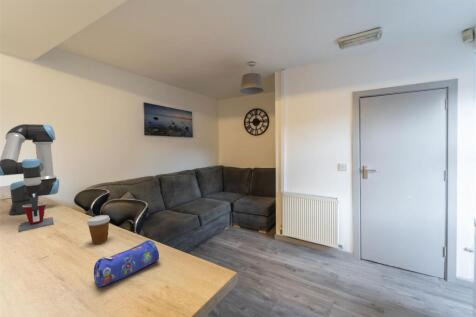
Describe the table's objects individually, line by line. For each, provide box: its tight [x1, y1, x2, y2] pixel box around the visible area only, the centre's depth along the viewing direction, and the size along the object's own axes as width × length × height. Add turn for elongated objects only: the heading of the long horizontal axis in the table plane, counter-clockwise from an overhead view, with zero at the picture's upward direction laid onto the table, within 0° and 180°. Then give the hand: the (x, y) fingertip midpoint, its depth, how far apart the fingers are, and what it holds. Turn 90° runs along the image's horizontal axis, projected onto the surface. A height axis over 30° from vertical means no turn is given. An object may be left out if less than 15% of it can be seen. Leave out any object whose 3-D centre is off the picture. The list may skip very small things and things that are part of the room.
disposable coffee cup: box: [86, 214, 111, 245], centre depth 103 cm, size 10×10×12 cm
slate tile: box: [18, 216, 55, 233], centre depth 128 cm, size 15×15×1 cm
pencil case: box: [93, 239, 160, 288], centre depth 77 cm, size 22×9×10 cm, turn 139°
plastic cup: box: [22, 202, 48, 225], centre depth 128 cm, size 11×11×12 cm
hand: (36, 218), depth 128 cm, fingers open, 13 cm apart
